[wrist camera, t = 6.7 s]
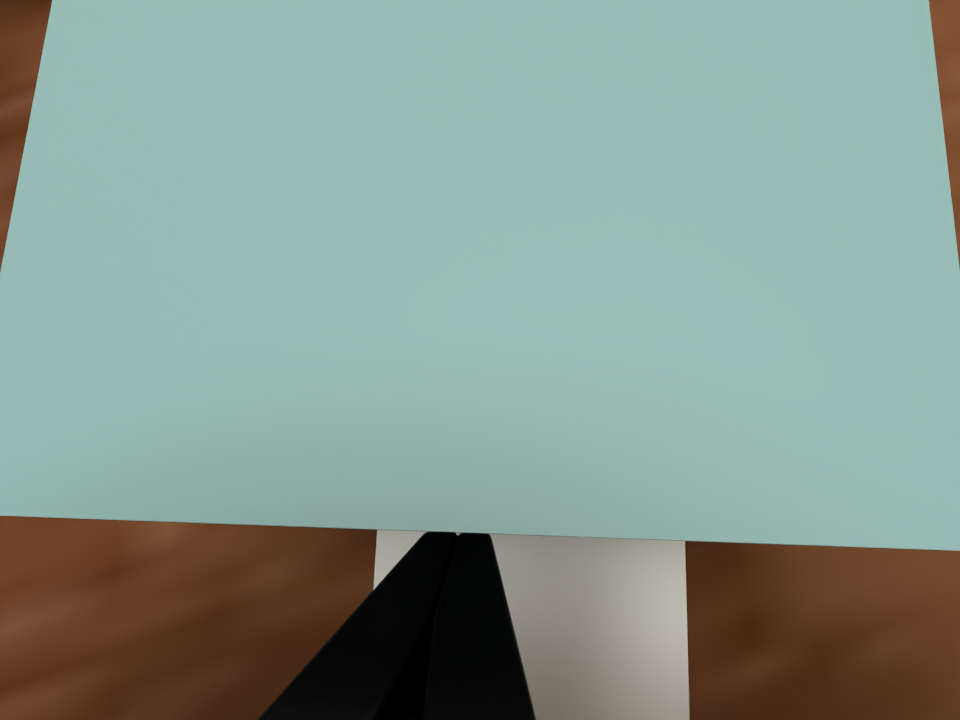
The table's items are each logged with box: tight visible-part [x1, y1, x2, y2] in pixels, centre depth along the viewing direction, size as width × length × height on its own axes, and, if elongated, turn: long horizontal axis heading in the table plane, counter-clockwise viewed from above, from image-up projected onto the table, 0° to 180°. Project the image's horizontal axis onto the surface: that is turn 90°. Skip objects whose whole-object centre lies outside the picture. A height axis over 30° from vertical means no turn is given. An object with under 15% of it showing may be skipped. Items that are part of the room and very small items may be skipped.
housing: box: [0, 0, 960, 551], centre depth 13 cm, size 9×10×10 cm
